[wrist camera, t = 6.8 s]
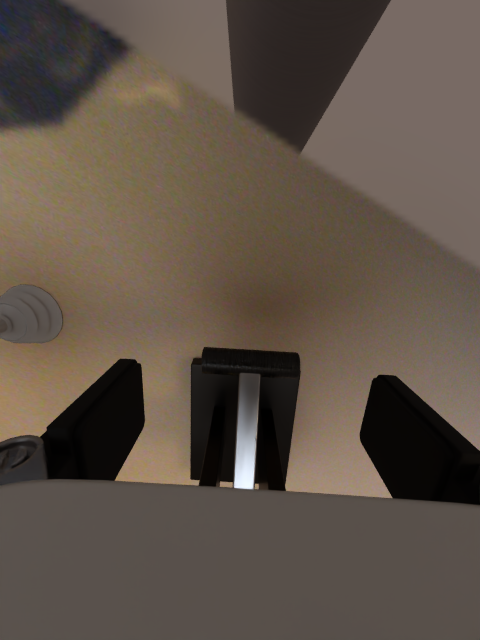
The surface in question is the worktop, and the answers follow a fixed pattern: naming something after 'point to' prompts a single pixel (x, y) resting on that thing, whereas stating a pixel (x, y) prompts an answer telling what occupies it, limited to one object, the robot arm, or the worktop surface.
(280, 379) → the bracket
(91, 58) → the worktop surface
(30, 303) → the chalice
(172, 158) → the worktop surface
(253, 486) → the lever
